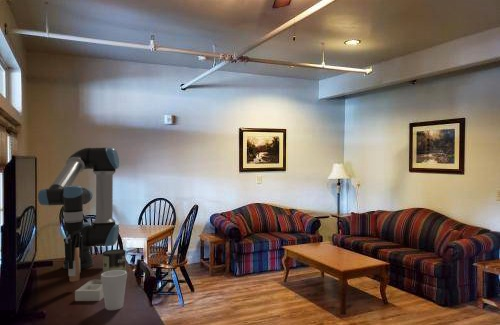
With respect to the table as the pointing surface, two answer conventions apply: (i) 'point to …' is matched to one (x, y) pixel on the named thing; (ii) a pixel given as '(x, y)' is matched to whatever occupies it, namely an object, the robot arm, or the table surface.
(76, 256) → the pin
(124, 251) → the coffee can
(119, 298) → the foam cup
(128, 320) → the table surface
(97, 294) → the bore block
